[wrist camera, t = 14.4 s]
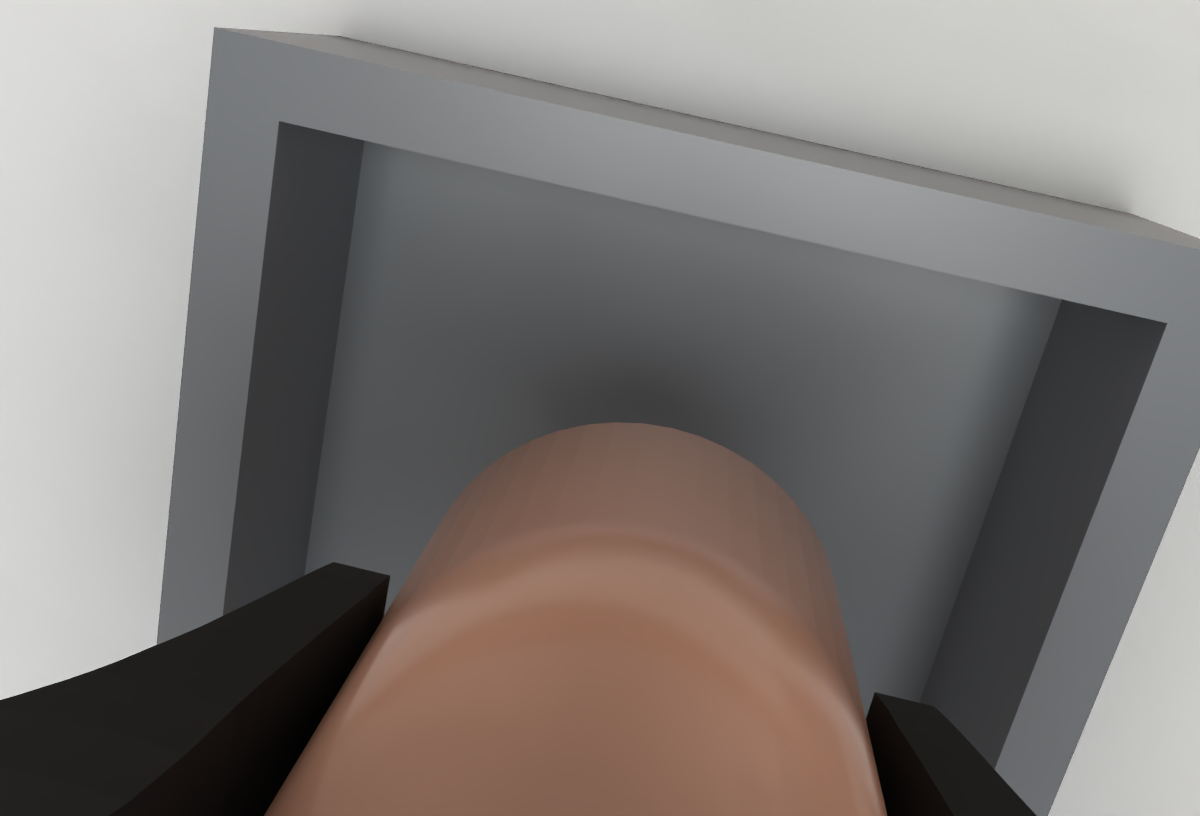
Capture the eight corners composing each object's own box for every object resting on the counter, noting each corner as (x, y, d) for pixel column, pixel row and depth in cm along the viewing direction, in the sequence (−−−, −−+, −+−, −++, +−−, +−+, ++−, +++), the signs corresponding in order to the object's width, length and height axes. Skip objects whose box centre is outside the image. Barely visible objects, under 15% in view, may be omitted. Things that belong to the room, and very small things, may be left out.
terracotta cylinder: (777, 840, 14) (833, 1561, 7) (392, 746, 14) (97, 1365, 7) (891, 478, 12) (1099, 973, 6) (456, 377, 12) (156, 742, 6)
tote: (841, 1012, 24) (871, 1241, 20) (233, 859, 25) (118, 1048, 20) (1132, 214, 19) (1274, 266, 14) (338, 35, 19) (214, 27, 14)
